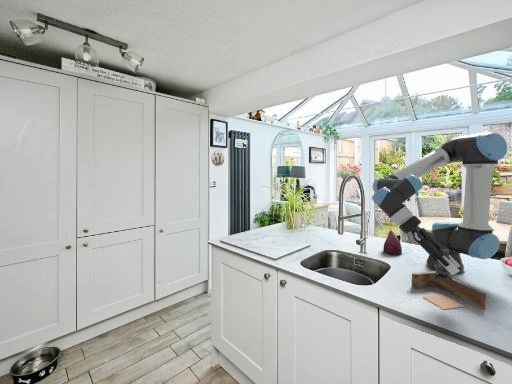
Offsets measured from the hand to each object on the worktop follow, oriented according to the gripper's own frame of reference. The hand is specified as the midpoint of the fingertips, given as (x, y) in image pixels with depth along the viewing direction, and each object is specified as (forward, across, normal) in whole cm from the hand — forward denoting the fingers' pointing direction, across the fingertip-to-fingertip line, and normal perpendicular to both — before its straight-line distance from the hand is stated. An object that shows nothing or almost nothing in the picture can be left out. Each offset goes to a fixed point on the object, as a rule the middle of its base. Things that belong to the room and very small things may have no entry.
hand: (456, 270), depth 90 cm
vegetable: (-13, -51, -32) cm, 61 cm away
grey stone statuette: (0, 0, -5) cm, 5 cm away
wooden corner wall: (+7, -5, -12) cm, 15 cm away
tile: (+7, 0, -12) cm, 14 cm away
